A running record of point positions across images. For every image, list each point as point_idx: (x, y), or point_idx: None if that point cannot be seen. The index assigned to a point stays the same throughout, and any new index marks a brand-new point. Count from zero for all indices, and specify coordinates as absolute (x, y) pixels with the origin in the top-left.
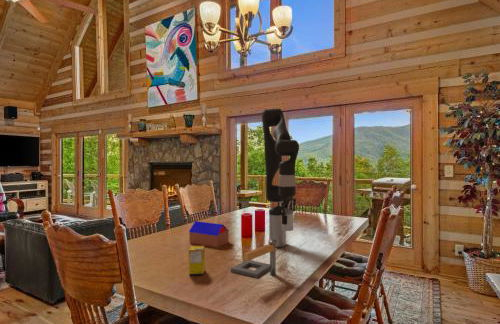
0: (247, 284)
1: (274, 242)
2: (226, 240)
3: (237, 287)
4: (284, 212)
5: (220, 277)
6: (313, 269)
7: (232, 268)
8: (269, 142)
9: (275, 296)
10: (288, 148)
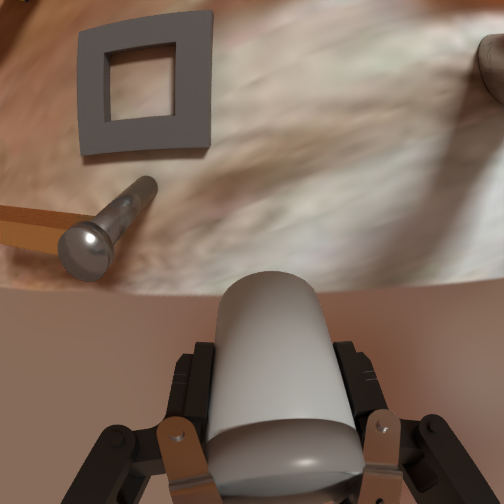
0: (37, 162)
1: (74, 273)
2: None
3: (11, 153)
4: (129, 481)
5: (33, 51)
6: None
7: (80, 38)
8: None
9: (41, 268)
10: None
